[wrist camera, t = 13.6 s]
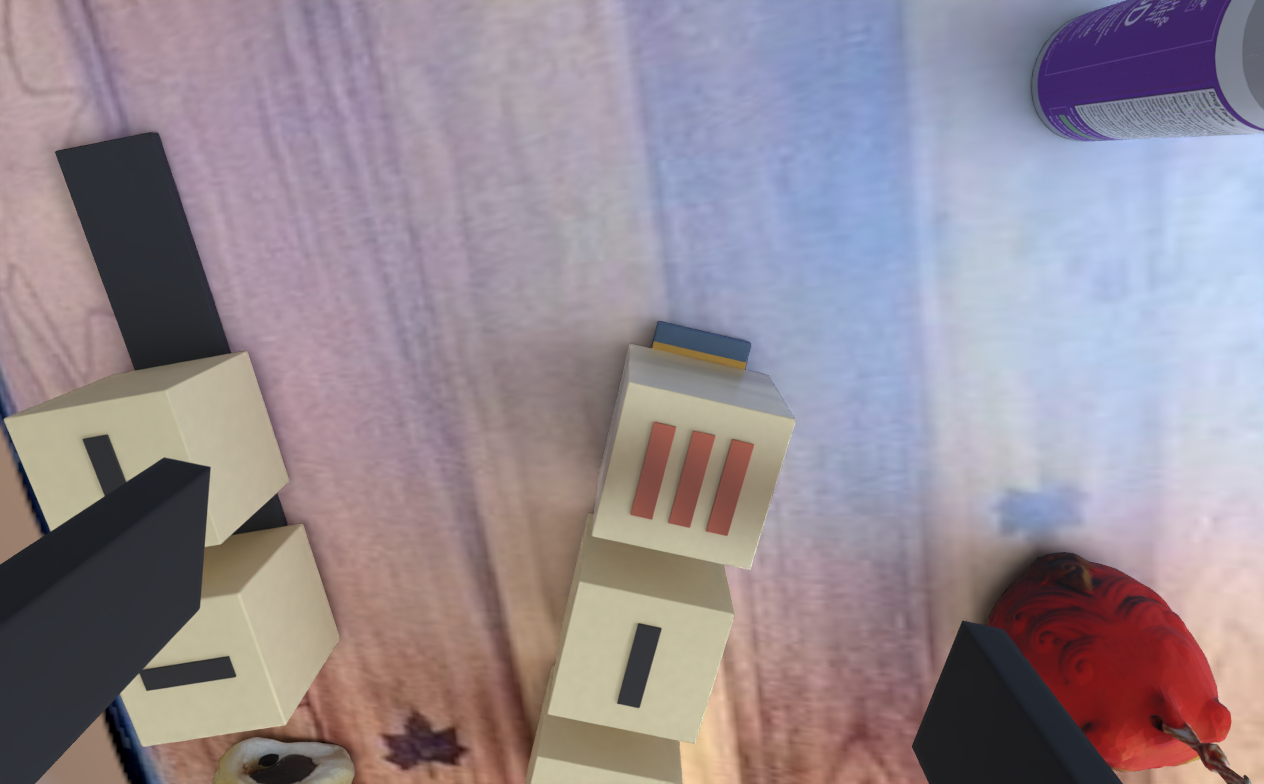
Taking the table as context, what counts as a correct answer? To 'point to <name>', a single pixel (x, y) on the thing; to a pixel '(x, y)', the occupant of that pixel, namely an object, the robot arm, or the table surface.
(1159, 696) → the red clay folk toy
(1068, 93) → the container
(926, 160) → the table surface
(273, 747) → the pastry
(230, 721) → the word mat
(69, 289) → the table surface
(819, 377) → the table surface
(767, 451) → the red striped cream cube
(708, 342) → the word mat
